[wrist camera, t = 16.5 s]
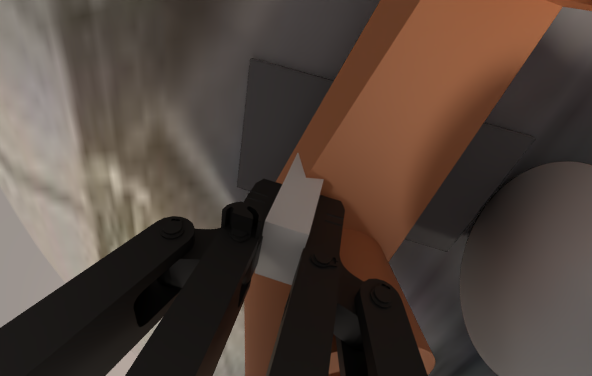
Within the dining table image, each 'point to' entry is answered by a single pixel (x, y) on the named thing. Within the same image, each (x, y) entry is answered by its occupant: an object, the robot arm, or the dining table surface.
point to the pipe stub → (533, 274)
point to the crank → (400, 133)
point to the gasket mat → (299, 112)
